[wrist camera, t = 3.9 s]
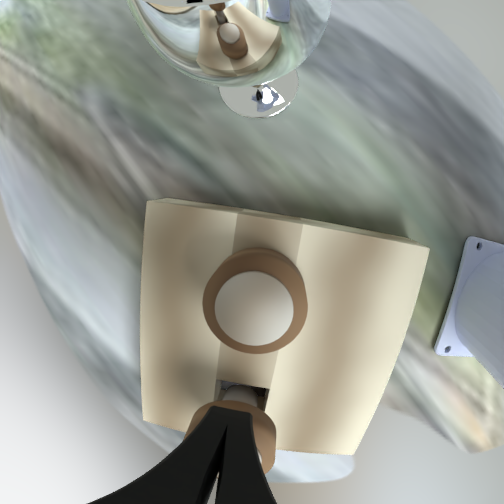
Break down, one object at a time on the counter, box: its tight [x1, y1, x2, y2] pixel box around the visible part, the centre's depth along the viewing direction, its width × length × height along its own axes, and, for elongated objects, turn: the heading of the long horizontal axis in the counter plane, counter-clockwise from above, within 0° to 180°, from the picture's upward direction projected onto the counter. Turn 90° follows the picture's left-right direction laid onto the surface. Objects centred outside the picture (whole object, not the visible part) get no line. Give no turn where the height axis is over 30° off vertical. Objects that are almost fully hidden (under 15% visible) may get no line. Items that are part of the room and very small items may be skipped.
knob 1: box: [202, 247, 308, 354], centre depth 15 cm, size 4×4×5 cm
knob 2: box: [183, 385, 276, 478], centre depth 15 cm, size 4×4×5 cm
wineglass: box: [126, 0, 331, 119], centre depth 10 cm, size 6×6×12 cm
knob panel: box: [140, 198, 430, 455], centre depth 17 cm, size 14×14×3 cm
